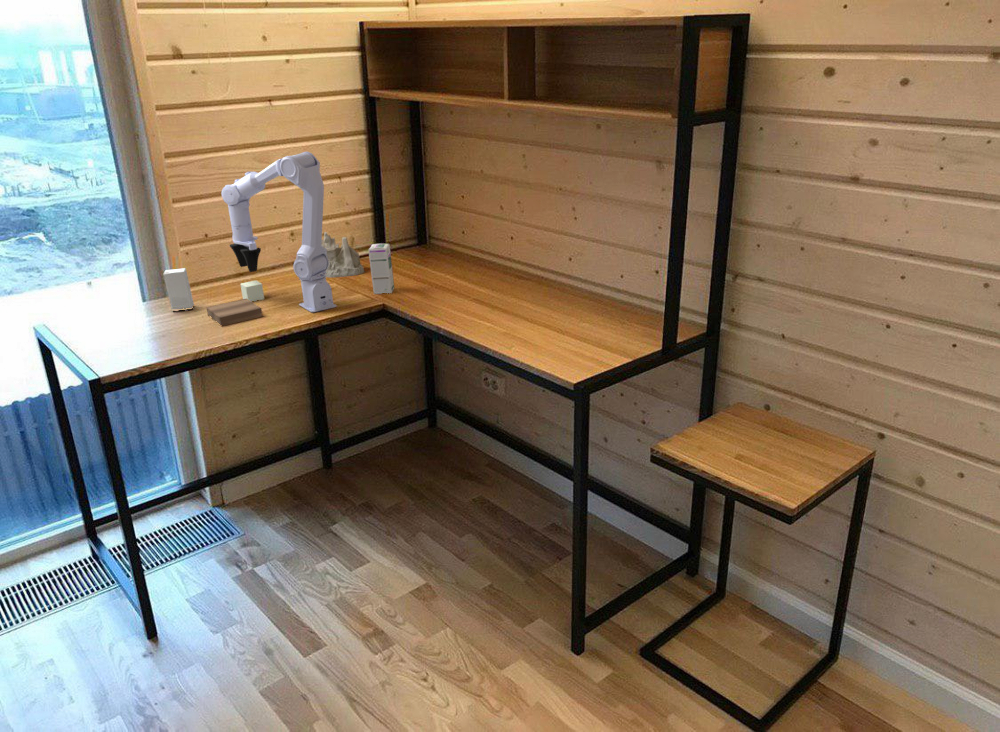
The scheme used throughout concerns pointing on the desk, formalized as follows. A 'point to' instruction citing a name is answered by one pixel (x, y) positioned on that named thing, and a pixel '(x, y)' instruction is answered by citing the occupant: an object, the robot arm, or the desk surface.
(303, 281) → the robot arm
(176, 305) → the skincare box
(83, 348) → the desk surface
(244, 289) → the white block
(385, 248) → the syrup box
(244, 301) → the walnut box
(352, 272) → the rocky castle sculpture
